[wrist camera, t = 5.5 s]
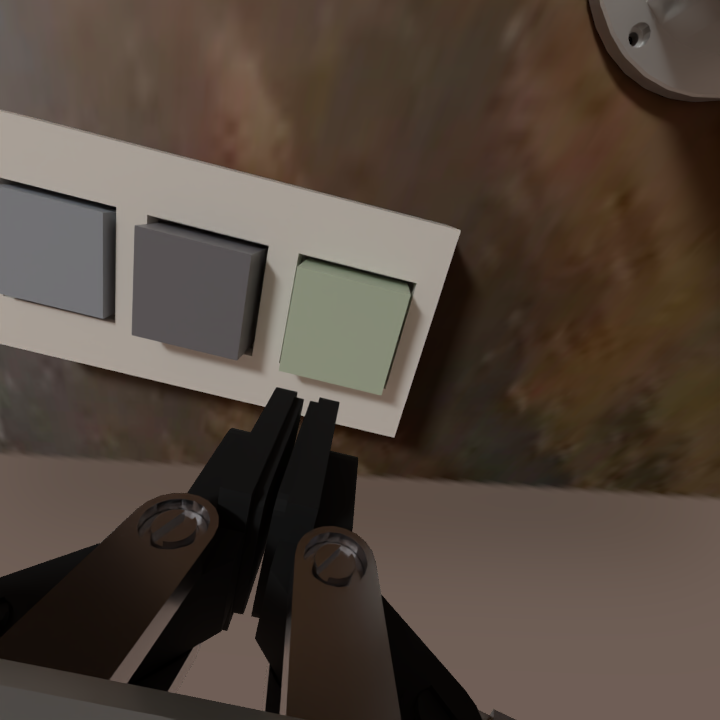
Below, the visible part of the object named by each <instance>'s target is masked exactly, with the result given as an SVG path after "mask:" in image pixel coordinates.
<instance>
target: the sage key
mask: <svg viewBox="0 0 720 720" xmlns="http://www.w3.org/2000/svg"><path fill="white" fill-rule="evenodd" d="M410 296H411V294H410V291H409V287H408V284H407V282H405V281H401V280H398V279H394V278H390V277H386V276H382V275H378V274H374V273H370V272H366V271H362V270H358V269H354V268H350V267H346V266H342V265H338V264H334V263H331V262H327V261H323V260H319V259H315V258H311V257H309V258H308V259H306V260H305V261H304V262H303V263H301V264H300V265H299V266H297V272H296V277H295V283H294V288H293V294H292V300H291V305H290V311H289V316H288V322H287V327H286V333H285V338H284V344H283V350H282V355H281V361H280V366H279V371H282V372H286V373H290V374H294V375H298V376H303V377H307V378H311V379H315V380H319V381H323V382H327V383H331V384H336V385H340V386H344V387H348V388H352V389H356V390H360V391H364V392H369V393H373V394H377V395H382V391H383V388H384V385H385V381H386V378H387V374H388V371H389V368H390V364H391V361H392V357H393V354H394V351H395V347H396V344H397V340H398V337H399V334H400V330H401V327H402V323H403V320H404V317H405V313H406V310H407V306H408V303H409V299H410Z"/></svg>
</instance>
